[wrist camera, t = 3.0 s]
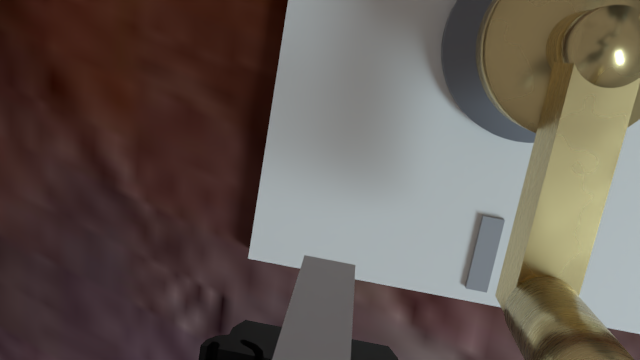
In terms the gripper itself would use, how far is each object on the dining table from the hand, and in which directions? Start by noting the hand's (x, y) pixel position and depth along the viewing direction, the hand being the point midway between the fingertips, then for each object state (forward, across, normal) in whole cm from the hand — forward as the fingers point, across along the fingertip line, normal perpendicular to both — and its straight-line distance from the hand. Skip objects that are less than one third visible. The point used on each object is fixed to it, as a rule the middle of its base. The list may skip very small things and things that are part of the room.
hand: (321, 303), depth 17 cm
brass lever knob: (+7, +7, +5) cm, 11 cm away
